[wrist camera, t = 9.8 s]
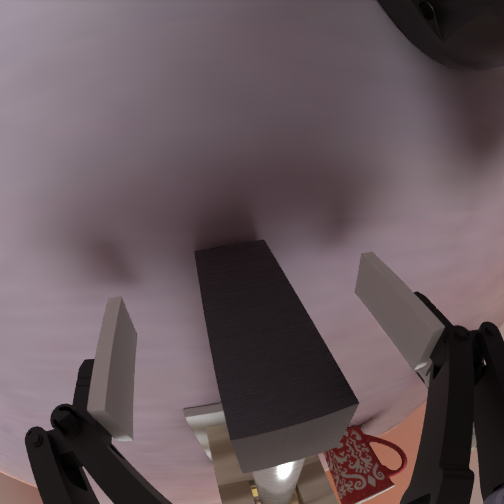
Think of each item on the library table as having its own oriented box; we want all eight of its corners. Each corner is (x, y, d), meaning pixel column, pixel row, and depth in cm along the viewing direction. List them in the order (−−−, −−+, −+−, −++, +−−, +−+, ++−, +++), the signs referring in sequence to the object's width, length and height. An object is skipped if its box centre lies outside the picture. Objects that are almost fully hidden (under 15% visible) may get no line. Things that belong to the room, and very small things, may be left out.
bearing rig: (184, 409, 25) (206, 534, 14) (309, 381, 28) (362, 492, 16) (216, 465, 36) (235, 539, 24) (297, 446, 38) (325, 516, 26)
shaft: (194, 251, 16) (230, 440, 7) (263, 239, 17) (359, 402, 8) (236, 433, 28) (260, 517, 19) (270, 425, 29) (300, 507, 20)
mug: (324, 451, 43) (350, 508, 32) (307, 444, 39) (336, 512, 27) (384, 418, 42) (416, 473, 31) (377, 406, 38) (415, 472, 26)
